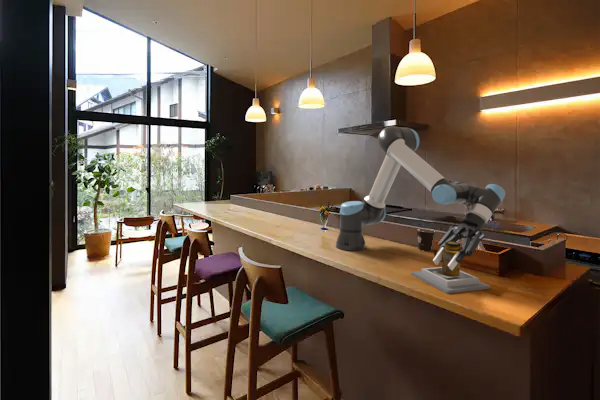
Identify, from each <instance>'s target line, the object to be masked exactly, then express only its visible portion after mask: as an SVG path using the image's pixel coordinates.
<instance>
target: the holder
mask: <svg viewBox="0 0 600 400" xmlns="http://www.w3.org/2000/svg"><path fill="white" fill-rule="evenodd" d="M433 271H442V266H438V267H426V268H424V267H423V268H420V270H417V271H411V272H410V275H412V276H414V277H415V278H416V279H417V278H418V279H420V280H421V281H422V282H425V283H426V284H428V285H431V286H432V287H434V288H436V289H438V290H439V291H441V292H444V293H445V294H454V293H463V292H465V293H466V292H472V291H474V292H475V291H483V290H489V289H491V285H489V284H488V283H484V282H482V281H480V278H479V277H477V276H475V275H473V274H470V273H467V272H465V271H462V270H460V272H459V274H462V275H465V276H460V277H453V278H446V277H443V276H440V275H438V274H436V273H434V272H433Z"/></svg>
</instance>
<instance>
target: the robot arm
mask: <svg viewBox="0 0 600 400" xmlns="http://www.w3.org/2000/svg"><path fill="white" fill-rule="evenodd" d="M377 145H378V147H379V148H380V150H381V151H382V152H383V153H384V154H385V157H384V159H383V162H382V164H381V165H380V168H379V170H378V173H377V175H376V178H375V180H374V183H373V185H372V188H371V189H370V192H369V194H368V195H366V196H364V198H363V201H360V200H351V201H346V202H343V203H341V205H340V210H339V233H338V236H337V238H336V241H335V247H336V248H337V249H339V250H344V251H362V250H365V249H366V241H365V237H364V234H363V231H364V230H363V226H369V225H370V226H371V225H372V226H373V225H377V224H380V223H381V222H382V221H384V220H385V218H386V215H387V211H386V203H385V201H386V198H387V196H388V194H389V192H390V190H391V187H392V186H393V183H394V181H395V179H396V177H397V174H398V173H399V171H400V169H401V167H403V168H404V169H405V170H406V171H407V172H408V173H409V174H410V175H412V176H413V178H415V179H416V180H417V181H419V183H420V184H421V185H423V187H425V188H426V189H427V191H429V192H430V193H431V196H432V199H433V201H434V202H435V203H436V204H439V205H451V204H460V203H465V204H469V205H471V207H470V208H469V209H468V211H467V212H466V214H465V215H464V217H463V218H462V220H461V223H460V224H459V225H457V226H454V225H450V226H449V228H448V230H447V231H446V233H444V235H443V236H442V238H441V239H440V240H439V241H438V243H437V245H438V246H439V247H440V248H438V251H437V252H436V255H434V258H433V259H432V262H434V264H435V265H436V266H438V265H439V264H440V263H441V261H442V260H443V249H444V248H445V247H444V246H445V242H446V241H454V242H458V241H461V240H462V239H463V240H462V241H463V242H462V245H461V246H460V250H459V251H460V252H457V253H456V254H455V255H454V257H453V258H452V260H451V261H450V262H449V264H448V265H447V266H448V267H449V268H450V269H451V270H452V271H453V269H454V268H455V266H456V265H457V264H458V263H460V264H461V262H462V261H463V259H464V258H465V257H470V258H471V257H472V255H473V254H474V252H475V251H476V249H477V248H478V245H480V243H481V241H482V240H483V239H485V234H484V233H483V231H482V230H483V229H484V227H485V226H486V224H487V223H488V221H489V220H490V218H491V217H492V215H494V212H496V211H497V209H498V207H499V206H500V205H501V204H502V202H503V200H504V198H505V196H506V191H505V189H504V188H503V187H501V185H498V184H496V183H495V184H494V183H490V184H489V183H488V184H486V186H485V187H480V186H476V185H472V184H468V183H465V182H463V181H462V182H461V181H453V182H452V183H451V182H450V181H449V180H448V179H446V177H444V176H443V175H442V174H441V173H439V171H437V170H436V169H435V168H434V167H433V166H431V164H429V163H428V162H427V161H425V160H424V159H423V158H422V157H421V156H420V155H418V154H417V153H416V151H417V150H418V147H419V146H420V136H419V134H418V132H416V130H414V129H412V128H410V127H404V126H403V127H401V126H395V125H393V126H392V125H390V126H387V127H384V128H383V129H381V131H380V132H379V134H378V136H377Z"/></svg>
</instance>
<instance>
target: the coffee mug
mask: <svg viewBox="0 0 600 400" xmlns="http://www.w3.org/2000/svg"><path fill="white" fill-rule="evenodd" d="M420 229H421V228H417V230H416V232H417V235H418V238H417V247H418V250H419V249H420V250H419V251H422V250H424V251H423V252H431V251H430V250H431V246H432V240H433V235H434V233H435V234H436V230H435V231H434V232H424V231H420ZM429 229H430V230H433V229H431V228H429ZM417 235H416V236H417ZM434 236H435V235H434ZM432 247H433V246H432Z"/></svg>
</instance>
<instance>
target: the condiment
mask: <svg viewBox="0 0 600 400" xmlns="http://www.w3.org/2000/svg"><path fill="white" fill-rule="evenodd" d="M444 247H445V248H444V249H443V258H442V260H441V261H442V262H441V263H442V264H441V267H442V271H433V272H434V273H436V274H438V275H440V276H443V277H446V278H453V277H460V276H465V275H462V274H459V272H460V271H461V262H460V263H458V264H457V265H456V266H455V268H454V269H453V271H452V270H451V269H450V268H449V267H448V266H447V265H448V264H449V262H450V261H451V260H452V258H453V257H454V255H455V254H456V253H457V252H460V251H459V250H461V243H460V242H458V241H457V242H454V241H446V242H445V246H444Z"/></svg>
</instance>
